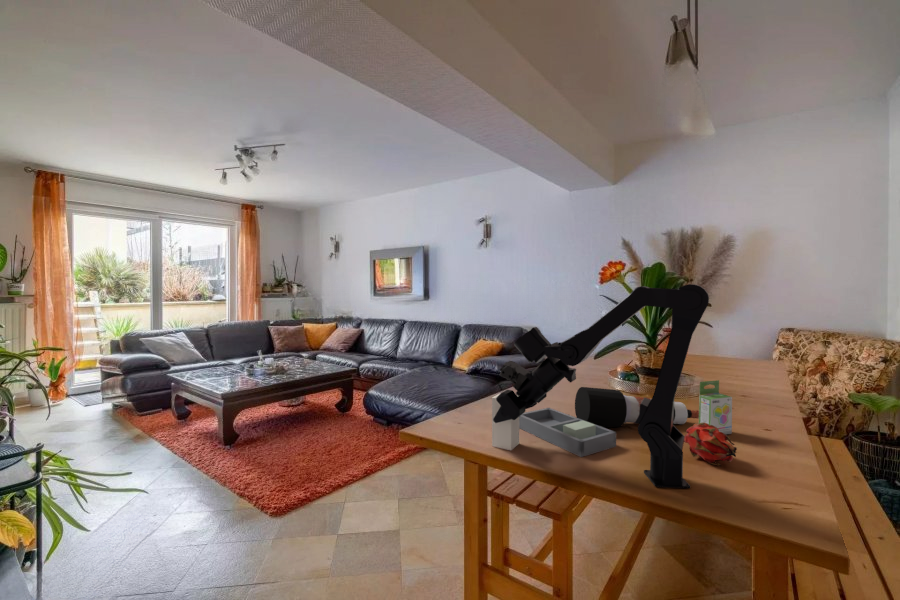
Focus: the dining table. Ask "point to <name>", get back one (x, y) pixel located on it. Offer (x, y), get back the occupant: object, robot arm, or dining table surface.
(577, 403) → the black and white bottle
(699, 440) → the dragon fruit
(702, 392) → the ink box
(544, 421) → the tray
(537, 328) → the robot arm
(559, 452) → the dining table surface
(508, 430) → the cream block
